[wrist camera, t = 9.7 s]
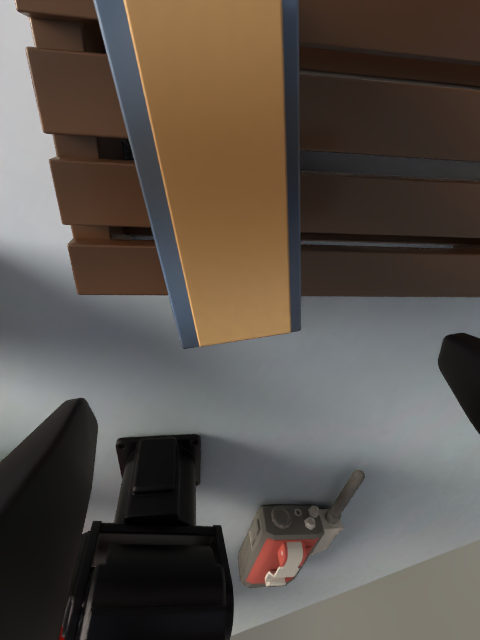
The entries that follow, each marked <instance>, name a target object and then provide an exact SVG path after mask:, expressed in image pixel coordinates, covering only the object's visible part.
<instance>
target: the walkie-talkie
mask: <svg viewBox="0 0 480 640" xmlns="http://www.w3.org/2000/svg"><path fill="white" fill-rule="evenodd" d="M364 478H365V474H364V472H363V471H361V470H355V471H354V472H353V474H352V475H351V477H350V478H349V480H348V482H347V483H346V485H345V486H344V488H343V489H342V491H341V493H340V494H339V496H338V497H337V499H336V501H335V502H334V504H333V505H332V506H331V507H329V509H318V507H316V506H312V505H264V506H262V507H261V508H259V509H258V511H257V513H256V516H255V518H254V520H253V522H252V525H251V527H250V529H249V532H248V535H247V537H246V540H245V542H244V544H243V547H242V549H241V551H240V554H239V556H238V565H239V575H240V581H241V582H242V583H243V584H244V585H245V586H246V587H249V588H256V587H275V586H286V585H287V584H288V583H289V582H291V581H292V580H293V579H295V577H296V575H297V574H298V573H299V571H300V570H301V568H302V566H303V565H304V564H305V562H306V561H307V559H308V557H309V556H312V555H314V554H317V553H319V552H321V551H323V550H325V549H327V548H328V546H329V545H330V544H331V542H332V541H333V539H334V538H335V537H336V535H337V534H338V533H339V532H341V530H342V529H343V525H342V523H341V520H340V517H341V513H342V511H343V510H344V508H345V507H346V505H347V504H348V502H349V501H350V499H351V498H352V496H353V495H354V493H355V492H356V490H357V489H358V487H359V486H360V484H361V483H362V481H363V480H364Z"/></svg>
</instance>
